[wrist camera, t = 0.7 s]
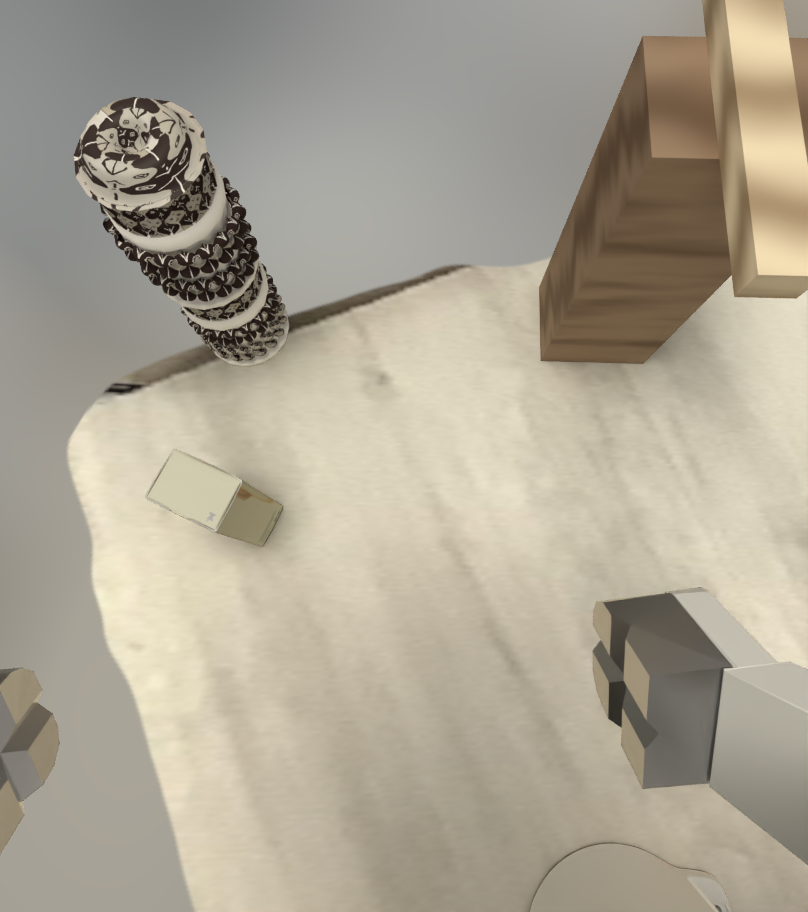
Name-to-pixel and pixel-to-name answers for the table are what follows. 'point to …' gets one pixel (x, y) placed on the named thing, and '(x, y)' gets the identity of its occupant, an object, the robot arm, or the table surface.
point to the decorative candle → (182, 224)
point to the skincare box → (213, 499)
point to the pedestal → (646, 213)
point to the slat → (759, 146)
